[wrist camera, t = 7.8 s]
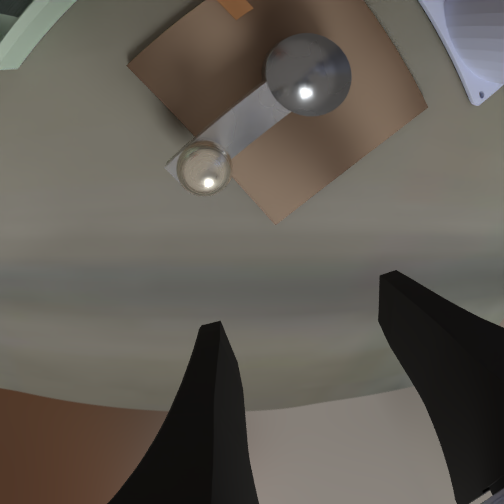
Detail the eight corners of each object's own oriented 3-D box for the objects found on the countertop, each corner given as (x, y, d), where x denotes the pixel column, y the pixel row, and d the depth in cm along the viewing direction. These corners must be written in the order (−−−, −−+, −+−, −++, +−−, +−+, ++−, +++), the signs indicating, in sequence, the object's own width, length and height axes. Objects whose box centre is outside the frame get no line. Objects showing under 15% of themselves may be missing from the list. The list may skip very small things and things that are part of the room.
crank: (308, 22, 11) (344, 5, 8) (355, 85, 13) (400, 90, 9) (151, 145, 13) (133, 168, 10) (206, 201, 15) (207, 240, 11)
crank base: (308, -57, 10) (316, -65, 9) (422, 106, 15) (435, 109, 14) (128, 66, 12) (122, 65, 11) (273, 221, 17) (278, 231, 16)
